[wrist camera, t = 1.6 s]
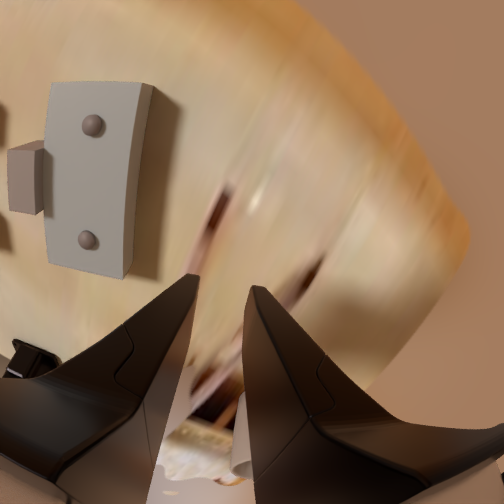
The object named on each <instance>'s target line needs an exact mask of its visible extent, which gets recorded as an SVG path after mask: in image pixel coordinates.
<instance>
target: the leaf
mask: <svg viewBox="0 0 504 504" xmlns="http://www.w3.org/2000/svg"><path fill="white" fill-rule="evenodd" d="M153 87H154V86H152V85H148V84H145V83H138V82H116V81H76V82H55V83H51V88H50V95H49V101H48V108H47V117H46V126H45V138H44V141H40V140H37V141H34V142H31V143H27V144H24V145H21V146H18V147H15V148H12V149H9V150H8V151H7V177H8V199H9V210H10V211H15V212H21V213H26V214H32V215H36V214H38V213H39V212H41V211H42V210H43V209H44V224H45V236H46V246H47V255H48V262H49V263H50V264H54V265H58V266H63V267H67V268H71V269H75V270H79V271H84V272H88V273H93V274H97V275H102V276H106V277H111V278H116V279H120V280H123V279H124V277H125V275H126V274H127V272H128V270H129V268H130V266H131V265H132V263H133V248H134V228H135V213H136V201H137V190H138V180H139V171H140V163H141V156H142V149H143V142H144V135H145V129H146V123H147V118H148V112H149V107H150V102H151V97H152V92H153Z"/></svg>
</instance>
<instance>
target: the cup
mask: <svg viewBox="0 0 504 504" xmlns="http://www.w3.org/2000/svg"><path fill="white" fill-rule="evenodd" d="M230 471H231V473H232V474H234V475H235V476H238V477H240V478H245V479H251V480H253V471H252V461H251V451H250V441H249V431H248V420H247V409H246V398H245V392H243V393H242V394H241V396H240V398H239V403H238V409H237V415H236V421H235V428H234V434H233V443H232V452H231V460H230Z"/></svg>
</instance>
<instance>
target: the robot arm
mask: <svg viewBox="0 0 504 504" xmlns="http://www.w3.org/2000/svg"><path fill="white" fill-rule="evenodd" d="M199 283H200V276H199V275H194V274H186V275H184V276H183V277H182V278H180V279H179V280H178V281H177V282H175V283H174V284H173V285H171V286H170V287H169V288H167V289H166V290H165V291H164V292H162V293H161V294H160V295H158V296H157V297H156V298H154V299H153V300H152V301H151V302H149V303H148V304H147V305H146V306H144V307H143V308H142V309H140V310H139V311H138V312H137V313H135V314H134V315H133V316H131V317H130V318H129V319H128V320H126V321H125V322H124V323H123V324H121V325H120V326H119V327H117V328H116V329H115V330H114V331H112V332H111V333H110V334H108V335H107V336H105V337H104V338H103V339H101V340H100V341H98V342H97V343H95V344H94V345H92V346H91V347H89V348H88V349H86V350H85V351H83V352H81V353H80V354H78V355H76V356H75V357H73V358H71V359H70V360H68V361H66V362H65V363H63V364H62V365H60V366H59V365H58V363H57V360H56V357H55V356H54V355H53V354H51V353H48V352H45V351H43V350H40V349H38V348H35V347H33V346H30V345H28V344H25V343H23V342H21V341H18V340H16V339H13V341H12V344H13V346H14V348H15V351H16V353H15V354H14V356H13V357H12V359H11V361H10V362H9V364H8V366H7V367H6V372H5V373H4V375H3V377H2V378H0V504H146V500H147V496H148V492H149V488H150V484H151V480H152V476H153V471H154V468H155V464H156V461H157V457H158V453H159V449H160V445H161V442H162V438H163V434H164V431H165V427H166V423H167V420H168V416H169V413H170V409H171V406H172V402H173V399H174V395H175V392H176V388H177V385H178V382H179V378H180V375H181V372H182V368H183V365H184V362H185V358H186V355H187V352H188V348H189V344H190V338H191V332H192V326H193V320H194V314H195V308H196V302H197V296H198V290H199ZM242 363H243V375H244V387H245V398H246V409H247V420H248V431H249V441H250V451H251V461H252V471H253V481H254V491H255V500H256V504H504V472H503V473H502V474H501V473H500V471H499V468H498V465H497V463H496V460H497V459H498V458H500V457H501V456H502V455H503V454H504V423H501V424H499V425H497V426H495V427H492V428H489V429H477V430H475V429H474V430H473V429H455V428H444V427H435V426H426V425H418V424H411V423H408V422H404V421H402V420H399V419H397V418H396V417H394V416H393V415H391V414H390V413H389V412H387V411H386V410H385V409H384V408H383V407H382V406H380V405H379V404H378V403H377V402H376V401H375V400H373V399H372V398H371V397H370V396H369V395H368V394H367V393H365V392H364V391H363V390H362V389H361V388H360V387H359V386H357V385H356V384H355V383H354V382H353V381H352V380H351V379H350V378H349V377H348V376H347V375H346V374H345V373H344V372H343V371H342V370H341V369H340V368H339V367H338V366H337V365H336V364H335V363H334V362H333V361H332V360H331V359H330V358H329V357H328V356H327V355H325V352H324V351H323V350H322V349H321V348H320V347H319V346H318V345H317V344H316V343H315V342H314V340H313V339H312V338H311V337H310V336H309V335H308V334H307V333H306V332H305V331H304V330H303V328H302V327H301V326H300V325H299V324H298V323H297V322H296V321H295V320H294V319H293V318H292V316H291V315H290V314H289V313H288V312H287V311H286V310H285V309H284V308H283V306H282V305H281V304H280V303H279V302H278V301H277V300H276V299H275V298H274V297H273V295H272V294H271V293H270V292H269V291H268V290H267V289H266V288H265V287H262V286H256V285H252V286H251V288H250V291H249V295H248V298H247V302H246V306H245V310H244V325H243V341H242Z"/></svg>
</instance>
